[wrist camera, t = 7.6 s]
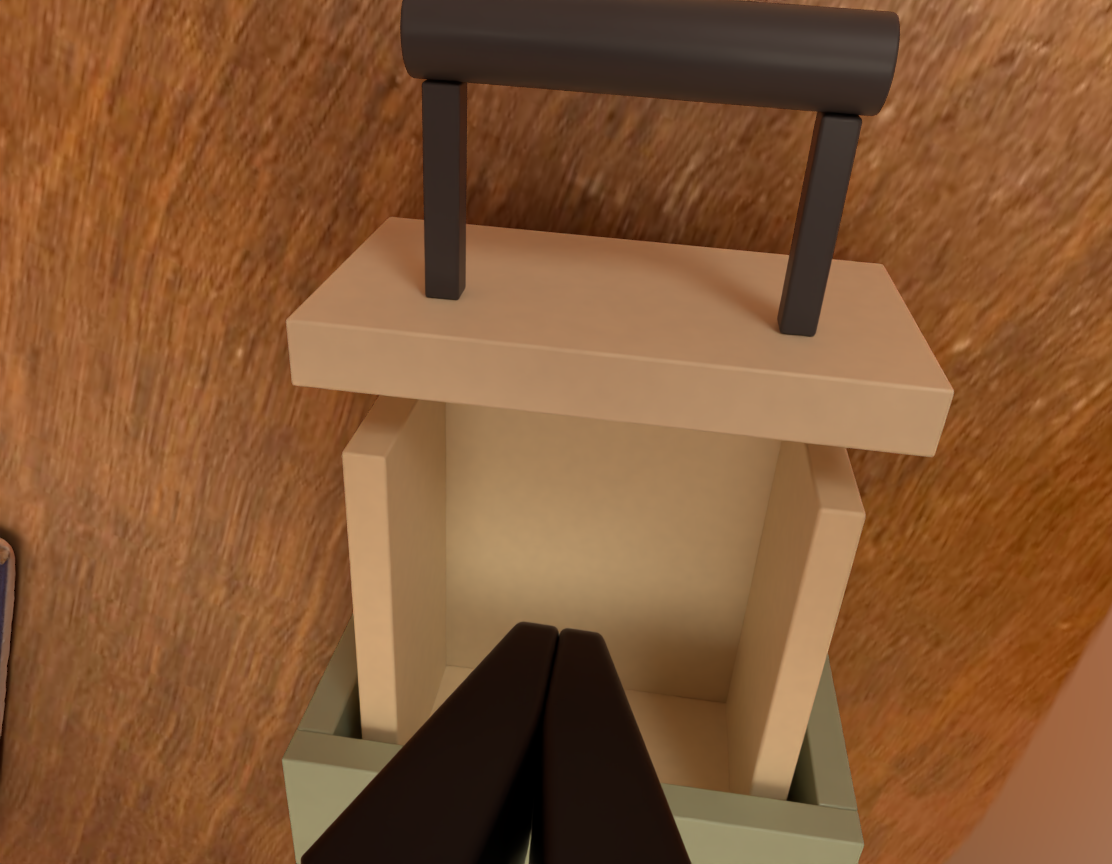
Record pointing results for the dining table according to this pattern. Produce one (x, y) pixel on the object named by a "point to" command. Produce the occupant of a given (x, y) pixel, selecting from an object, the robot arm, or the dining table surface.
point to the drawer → (621, 394)
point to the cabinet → (700, 814)
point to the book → (5, 614)
